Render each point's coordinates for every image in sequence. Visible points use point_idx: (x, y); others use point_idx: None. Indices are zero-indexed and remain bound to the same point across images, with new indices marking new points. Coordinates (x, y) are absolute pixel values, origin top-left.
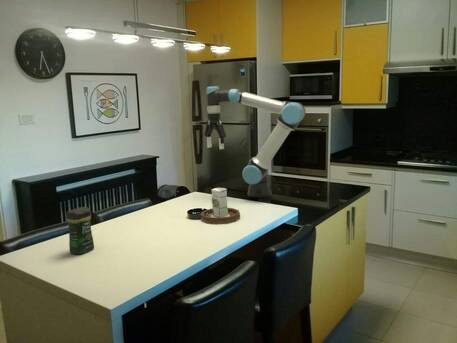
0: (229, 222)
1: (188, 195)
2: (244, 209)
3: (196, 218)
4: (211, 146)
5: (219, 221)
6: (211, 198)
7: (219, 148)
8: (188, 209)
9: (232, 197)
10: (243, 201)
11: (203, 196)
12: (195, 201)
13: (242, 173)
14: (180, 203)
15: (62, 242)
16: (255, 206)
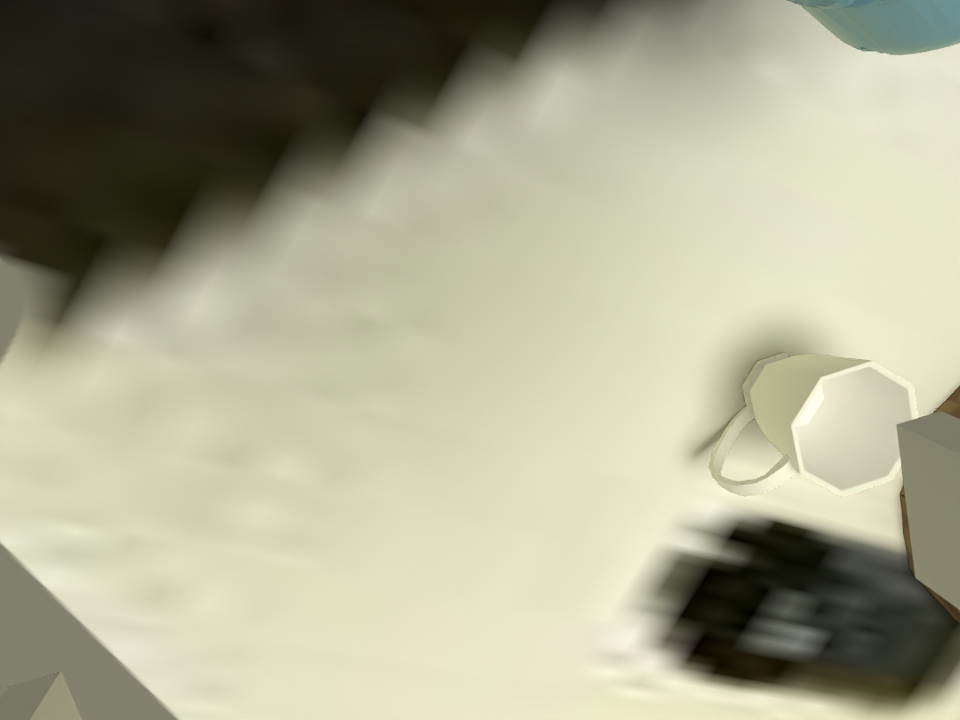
0: None
1: (63, 563)
2: (942, 208)
3: (940, 653)
4: (48, 700)
5: None
6: (735, 491)
7: (938, 590)
8: (655, 663)
9: (423, 125)
10: (665, 86)
11: (201, 420)
12: (394, 550)
13: (920, 50)
14: (400, 695)
15: None
16: (913, 61)
